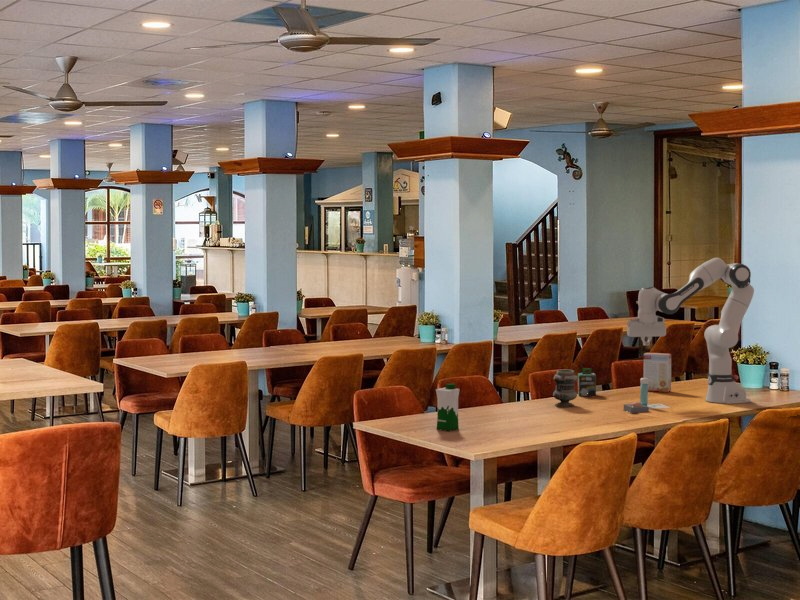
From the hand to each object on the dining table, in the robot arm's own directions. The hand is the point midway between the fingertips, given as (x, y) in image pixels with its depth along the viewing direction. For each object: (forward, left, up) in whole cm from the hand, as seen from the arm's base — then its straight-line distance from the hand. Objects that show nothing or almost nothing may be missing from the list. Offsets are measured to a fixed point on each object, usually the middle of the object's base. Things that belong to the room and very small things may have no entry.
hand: (646, 345), depth 520 cm
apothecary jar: (+45, +4, -29) cm, 54 cm away
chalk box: (+22, -26, -29) cm, 45 cm away
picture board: (+5, +17, -29) cm, 34 cm away
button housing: (+17, +27, -29) cm, 43 cm away
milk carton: (+117, +53, -29) cm, 132 cm away
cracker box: (-21, -32, -29) cm, 48 cm away
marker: (+8, +17, -28) cm, 34 cm away
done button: (+17, +27, -29) cm, 43 cm away
